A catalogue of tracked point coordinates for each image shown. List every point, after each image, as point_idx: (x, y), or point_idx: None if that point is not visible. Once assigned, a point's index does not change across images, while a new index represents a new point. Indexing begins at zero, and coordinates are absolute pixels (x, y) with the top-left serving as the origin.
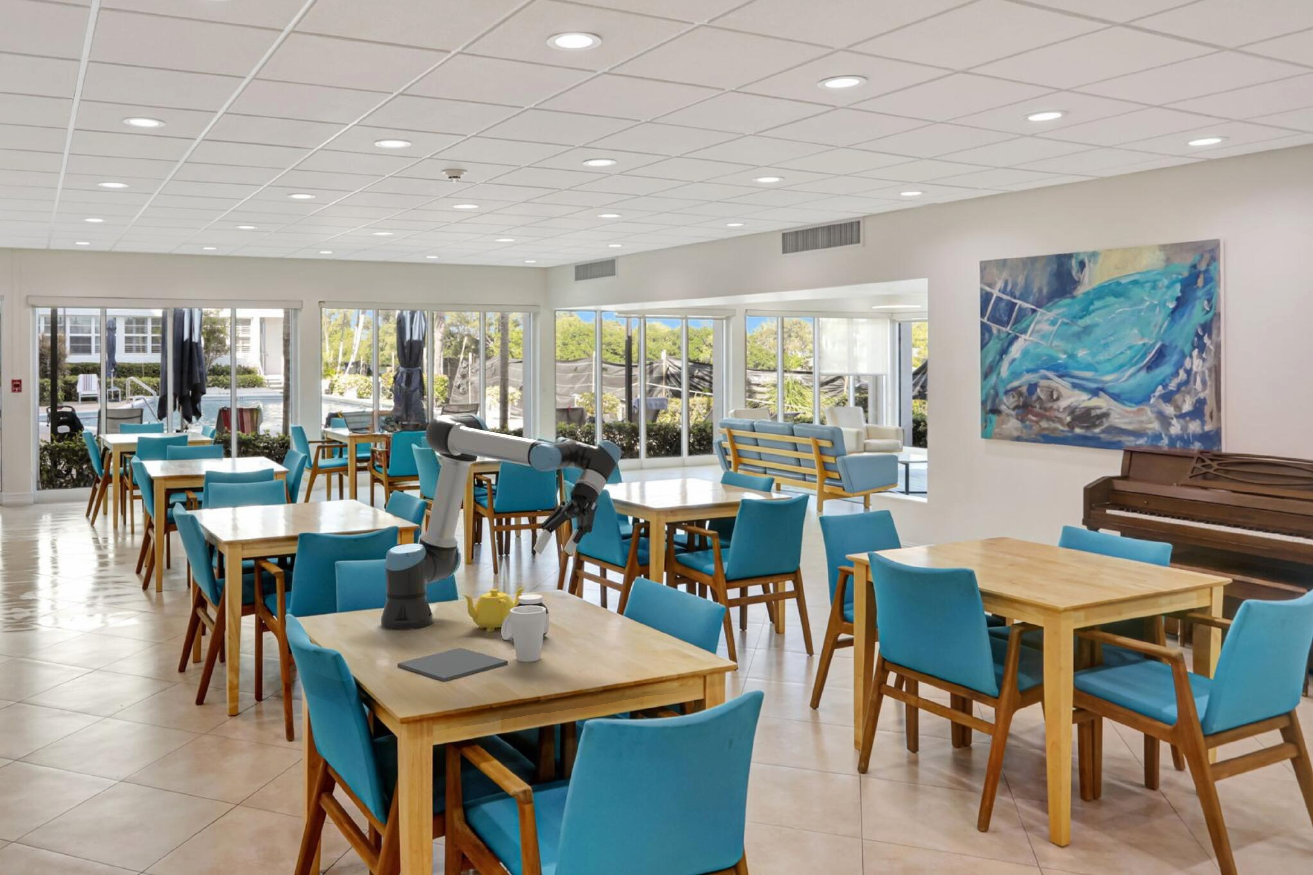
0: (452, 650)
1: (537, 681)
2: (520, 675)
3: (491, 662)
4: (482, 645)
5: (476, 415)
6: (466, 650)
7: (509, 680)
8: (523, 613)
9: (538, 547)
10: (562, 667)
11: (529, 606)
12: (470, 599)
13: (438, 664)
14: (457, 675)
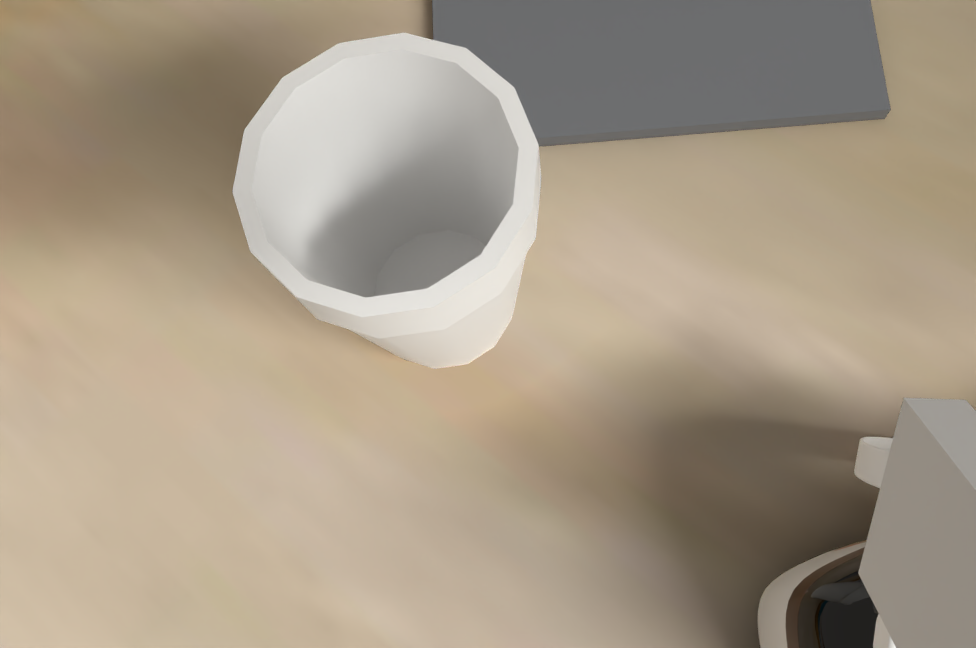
0: (862, 47)
1: (86, 88)
2: (225, 86)
3: None
4: (906, 272)
5: None
6: (802, 100)
7: (205, 9)
8: (305, 70)
9: (919, 507)
10: (155, 319)
11: (481, 255)
12: None
13: None
14: None
